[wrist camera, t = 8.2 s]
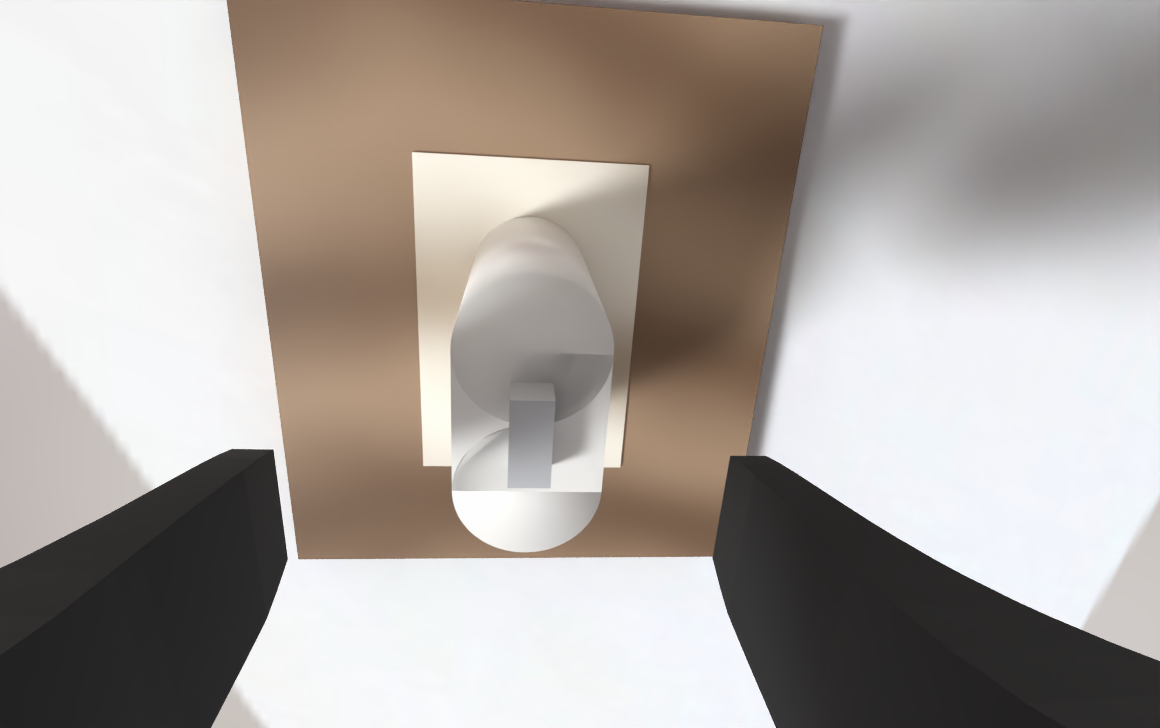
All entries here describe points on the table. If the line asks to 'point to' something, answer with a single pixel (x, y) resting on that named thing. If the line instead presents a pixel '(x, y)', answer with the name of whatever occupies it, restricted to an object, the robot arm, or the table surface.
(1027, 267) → the table surface
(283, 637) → the table surface
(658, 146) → the walnut board
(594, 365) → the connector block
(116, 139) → the table surface
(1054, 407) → the table surface
